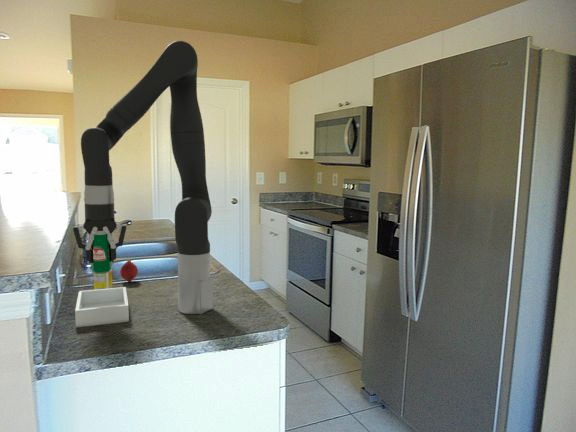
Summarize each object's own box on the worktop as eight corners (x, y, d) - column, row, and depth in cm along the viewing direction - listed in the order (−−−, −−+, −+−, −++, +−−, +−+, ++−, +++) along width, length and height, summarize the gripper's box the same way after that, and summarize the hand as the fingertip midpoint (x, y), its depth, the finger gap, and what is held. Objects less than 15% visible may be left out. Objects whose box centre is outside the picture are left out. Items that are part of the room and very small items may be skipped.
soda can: (88, 273, 123) (86, 230, 122) (98, 269, 128) (97, 227, 127) (105, 274, 123) (103, 231, 121) (115, 270, 128) (113, 228, 126)
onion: (132, 284, 155) (131, 262, 154) (117, 283, 156) (116, 261, 155) (140, 280, 161) (140, 258, 160) (126, 279, 162) (125, 257, 161)
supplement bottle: (108, 289, 149) (107, 259, 148) (115, 293, 145) (114, 262, 144) (91, 293, 145) (90, 262, 144) (98, 297, 141) (96, 265, 140)
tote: (126, 301, 138) (125, 287, 137) (128, 321, 121) (128, 305, 120) (79, 305, 133) (79, 291, 132) (75, 327, 116) (75, 310, 116)
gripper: (126, 199, 129) (128, 257, 131) (71, 200, 124) (74, 260, 126) (127, 202, 122) (129, 263, 124) (69, 203, 117) (72, 267, 119)
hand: (101, 261), depth 125 cm, fingers closed on soda can, 5 cm apart
